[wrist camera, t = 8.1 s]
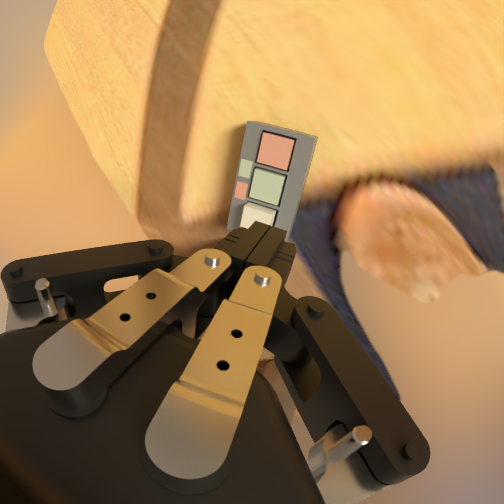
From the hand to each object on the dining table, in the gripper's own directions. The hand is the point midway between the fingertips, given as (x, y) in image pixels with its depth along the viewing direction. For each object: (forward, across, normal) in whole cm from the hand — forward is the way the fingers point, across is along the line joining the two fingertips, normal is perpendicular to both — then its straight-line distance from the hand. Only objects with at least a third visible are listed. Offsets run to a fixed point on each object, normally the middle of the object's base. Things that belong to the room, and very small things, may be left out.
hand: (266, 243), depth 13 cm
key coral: (+25, +6, -1) cm, 26 cm away
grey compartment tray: (+27, +6, +4) cm, 28 cm away
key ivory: (+24, +6, +9) cm, 26 cm away
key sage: (+25, +6, +5) cm, 26 cm away
